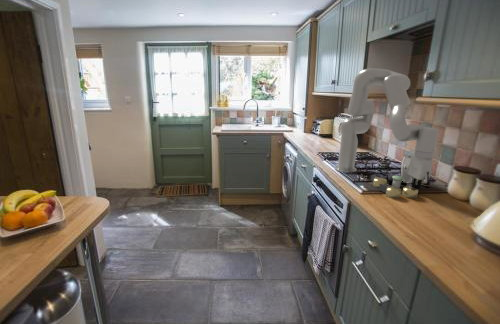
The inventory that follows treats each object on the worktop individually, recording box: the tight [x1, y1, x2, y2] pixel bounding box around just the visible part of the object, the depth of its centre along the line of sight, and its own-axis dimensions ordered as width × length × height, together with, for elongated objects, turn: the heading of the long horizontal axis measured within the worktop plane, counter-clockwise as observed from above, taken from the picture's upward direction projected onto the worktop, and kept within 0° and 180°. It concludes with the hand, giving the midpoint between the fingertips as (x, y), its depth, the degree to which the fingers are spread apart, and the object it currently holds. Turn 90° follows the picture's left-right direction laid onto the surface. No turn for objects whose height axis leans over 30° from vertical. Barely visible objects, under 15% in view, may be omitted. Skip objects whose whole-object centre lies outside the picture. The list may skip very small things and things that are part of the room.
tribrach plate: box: [391, 175, 403, 189], centre depth 127 cm, size 19×15×7 cm
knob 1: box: [378, 184, 402, 200], centre depth 123 cm, size 10×6×4 cm, turn 25°
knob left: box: [370, 174, 388, 189], centre depth 135 cm, size 10×6×4 cm, turn 3°
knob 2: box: [401, 183, 419, 200], centre depth 124 cm, size 10×6×4 cm, turn 156°
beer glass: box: [400, 154, 413, 184], centre depth 139 cm, size 7×7×15 cm
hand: (415, 191), depth 126 cm, fingers closed
